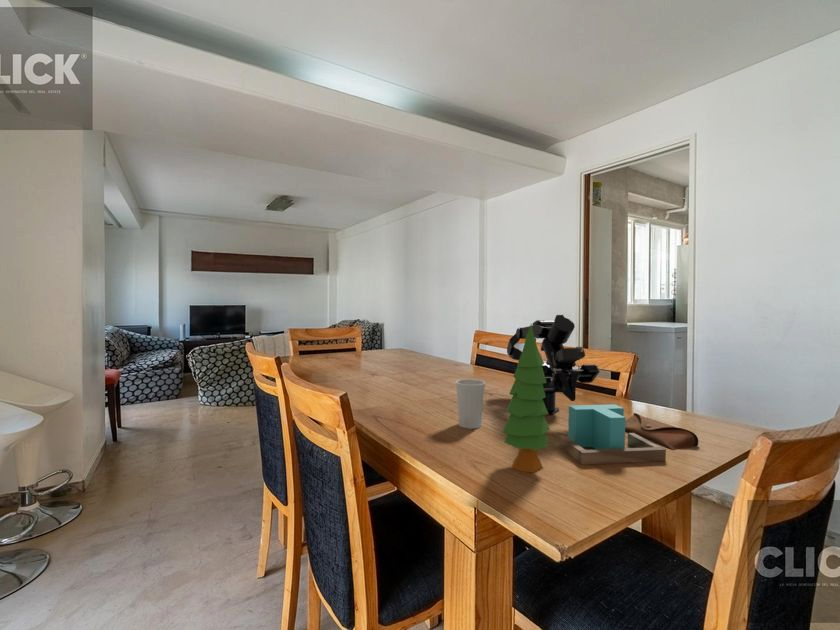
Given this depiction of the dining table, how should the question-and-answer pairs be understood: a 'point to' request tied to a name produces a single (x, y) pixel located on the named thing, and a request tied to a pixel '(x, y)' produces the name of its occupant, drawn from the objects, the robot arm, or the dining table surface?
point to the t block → (597, 426)
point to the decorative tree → (527, 408)
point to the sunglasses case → (660, 432)
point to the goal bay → (615, 451)
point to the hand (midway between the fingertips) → (573, 400)
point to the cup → (470, 402)
